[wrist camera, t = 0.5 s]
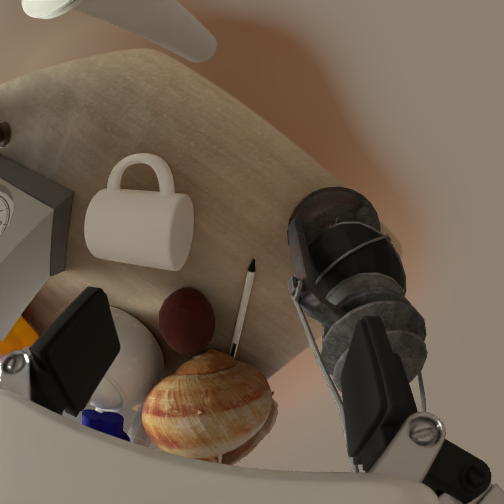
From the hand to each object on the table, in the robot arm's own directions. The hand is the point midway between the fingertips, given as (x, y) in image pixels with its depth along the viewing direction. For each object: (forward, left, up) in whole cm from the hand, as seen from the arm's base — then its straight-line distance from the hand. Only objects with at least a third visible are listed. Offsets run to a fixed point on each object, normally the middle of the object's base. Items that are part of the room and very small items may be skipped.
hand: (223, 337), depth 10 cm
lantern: (+5, +7, -23) cm, 25 cm away
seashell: (+31, -4, -10) cm, 33 cm away
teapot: (+24, -25, -23) cm, 42 cm away
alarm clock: (0, -38, -23) cm, 45 cm away
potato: (+16, -11, -23) cm, 30 cm away
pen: (+17, -5, -23) cm, 29 cm away
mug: (0, -13, -24) cm, 27 cm away
